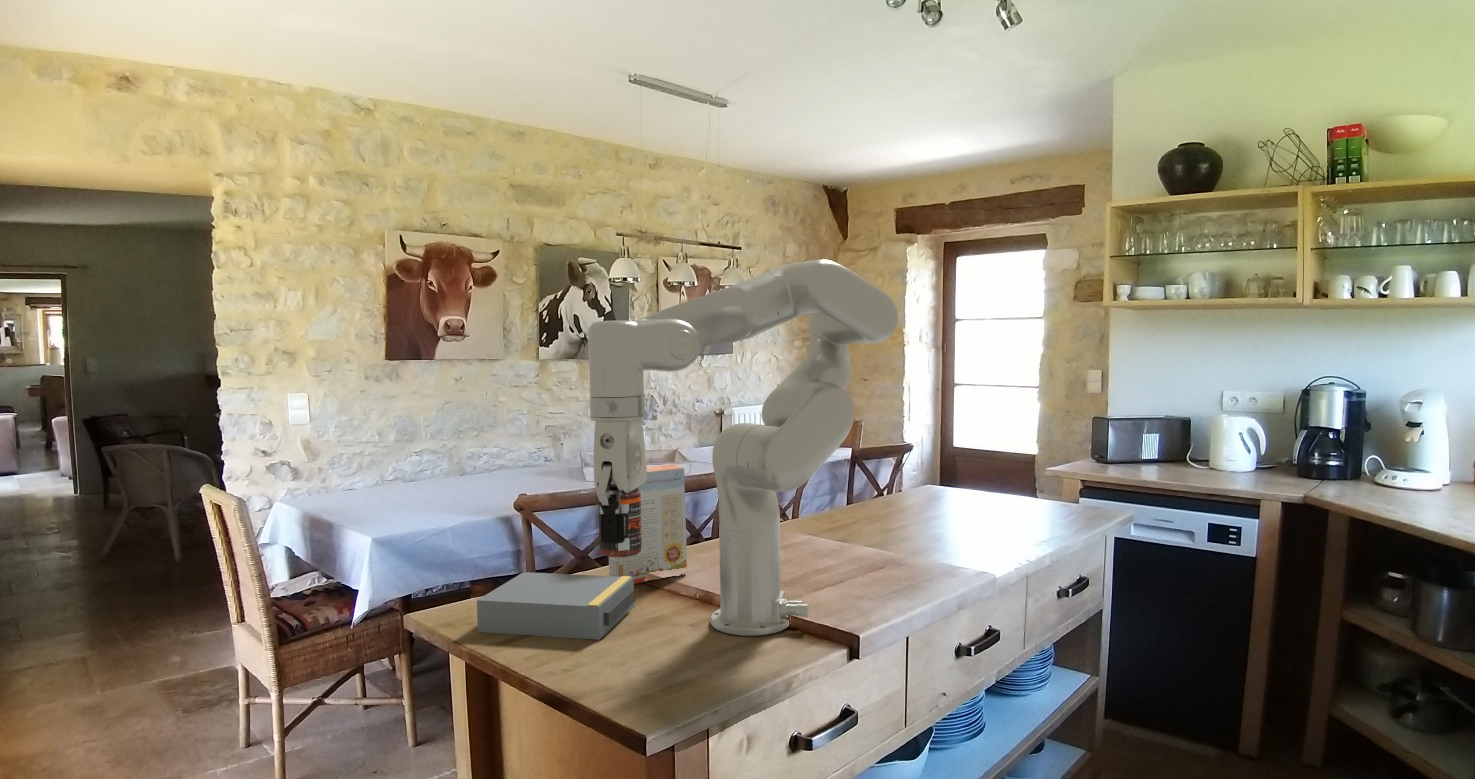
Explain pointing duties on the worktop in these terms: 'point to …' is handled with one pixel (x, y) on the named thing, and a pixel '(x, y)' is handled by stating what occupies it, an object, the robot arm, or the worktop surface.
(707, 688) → the worktop surface
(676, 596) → the worktop surface
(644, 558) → the cracker box
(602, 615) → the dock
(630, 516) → the supplement bottle
